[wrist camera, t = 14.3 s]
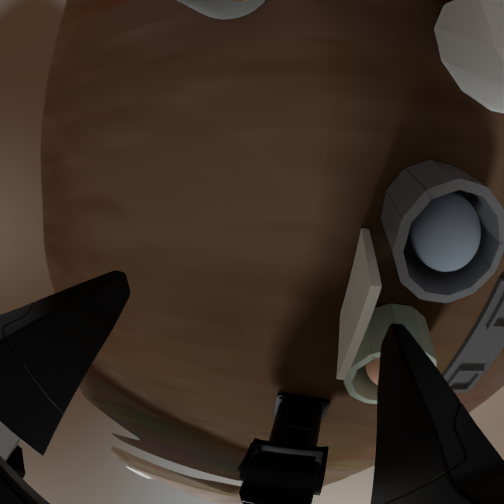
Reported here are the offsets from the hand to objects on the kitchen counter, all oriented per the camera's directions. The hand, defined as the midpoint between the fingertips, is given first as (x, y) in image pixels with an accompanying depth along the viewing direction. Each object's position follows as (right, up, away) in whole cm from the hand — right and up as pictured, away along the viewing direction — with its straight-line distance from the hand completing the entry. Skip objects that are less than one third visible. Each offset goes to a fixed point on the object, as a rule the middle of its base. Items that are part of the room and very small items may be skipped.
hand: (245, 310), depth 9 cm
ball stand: (+24, -8, +12) cm, 28 cm away
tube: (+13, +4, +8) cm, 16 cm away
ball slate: (+13, +4, +8) cm, 16 cm away
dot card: (+8, 0, +12) cm, 15 cm away
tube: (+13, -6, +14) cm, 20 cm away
